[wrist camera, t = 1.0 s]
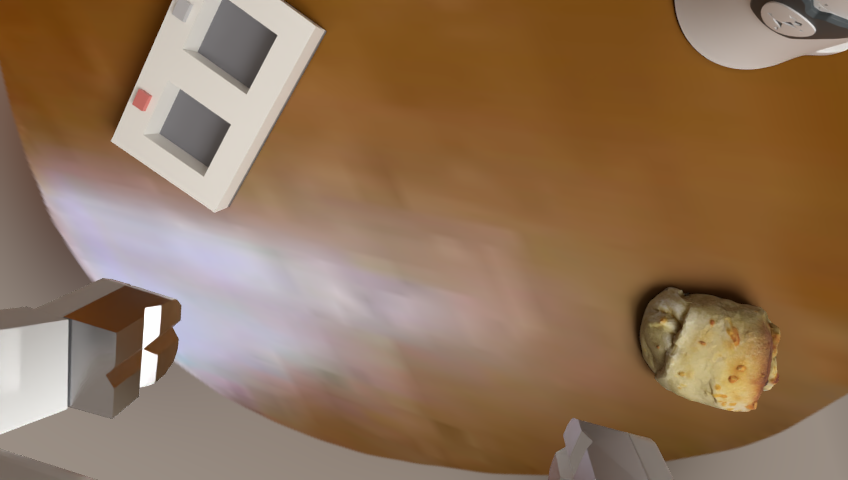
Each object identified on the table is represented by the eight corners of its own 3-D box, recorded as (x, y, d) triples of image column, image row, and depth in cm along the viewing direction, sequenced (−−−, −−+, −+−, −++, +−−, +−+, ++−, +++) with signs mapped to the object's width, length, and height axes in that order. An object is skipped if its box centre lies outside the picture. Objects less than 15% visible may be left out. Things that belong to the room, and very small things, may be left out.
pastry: (785, 363, 50) (840, 410, 42) (672, 409, 53) (703, 460, 45) (729, 254, 47) (777, 282, 40) (614, 309, 50) (637, 345, 43)
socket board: (216, -49, 45) (195, -61, 42) (326, 31, 46) (314, 25, 43) (131, 139, 52) (107, 141, 49) (229, 206, 53) (211, 213, 49)
